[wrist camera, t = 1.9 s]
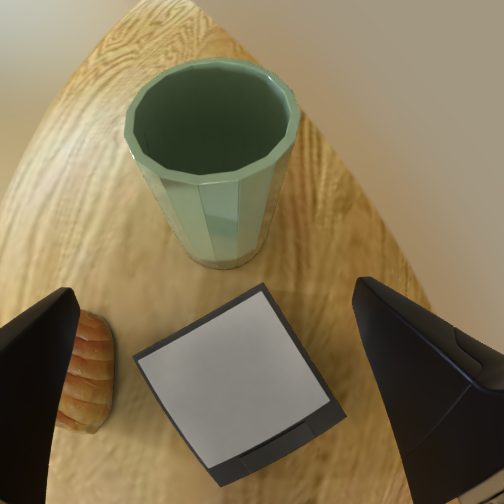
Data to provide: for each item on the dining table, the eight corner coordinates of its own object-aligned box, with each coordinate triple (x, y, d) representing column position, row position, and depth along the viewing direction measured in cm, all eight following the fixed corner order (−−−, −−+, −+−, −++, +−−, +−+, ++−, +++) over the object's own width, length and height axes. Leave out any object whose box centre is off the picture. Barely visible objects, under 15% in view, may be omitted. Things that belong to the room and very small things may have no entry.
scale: (335, 408, 19) (351, 419, 16) (221, 473, 18) (219, 493, 14) (260, 287, 22) (264, 279, 19) (142, 354, 20) (127, 357, 17)
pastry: (66, 299, 20) (41, 292, 17) (136, 331, 20) (117, 329, 17) (43, 399, 18) (17, 406, 14) (108, 437, 18) (88, 452, 14)
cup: (283, 241, 23) (335, 136, 10) (204, 286, 22) (164, 220, 9) (238, 173, 24) (242, 43, 12) (164, 212, 23) (106, 97, 10)
